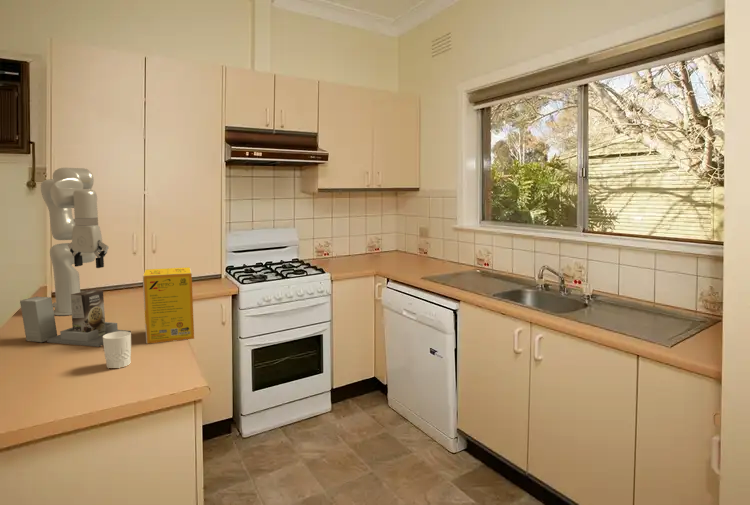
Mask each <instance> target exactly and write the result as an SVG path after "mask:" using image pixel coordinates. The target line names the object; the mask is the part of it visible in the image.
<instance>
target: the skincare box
mask: <svg viewBox="0 0 750 505" xmlns="http://www.w3.org/2000/svg"><path fill="white" fill-rule="evenodd" d="M19 304H20V308H21V314H22V315H21V316H22V322H23V328H24V334H25V341H27V342H34V343H35V342H37V343H43V342H44V343H45V342H47V339H49V338H52V337H55V336H58V331H57V326H56V318H55V315H54V307H53V299H52V296H51V297H48V296H33V297H29V298H25V299H20V300H19Z"/></svg>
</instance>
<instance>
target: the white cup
mask: <svg viewBox="0 0 750 505" xmlns="http://www.w3.org/2000/svg"><path fill="white" fill-rule="evenodd" d="M127 331H128V330H127ZM127 331H119V332H112V333H108V334H105V335H104V336H103V345H102V346H103V352H104V359H105V363H106V368H107V369H109V368H119V369H121V368H120V367H124V366H127V365H129V364H130V363H131V358H132V357H131V355H132V332H131V333H130V332H127ZM130 365H131V364H130ZM130 365H129V366H130ZM127 367H128V366H127ZM124 368H125V367H124Z"/></svg>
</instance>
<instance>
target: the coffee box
mask: <svg viewBox="0 0 750 505" xmlns="http://www.w3.org/2000/svg"><path fill="white" fill-rule="evenodd" d="M71 309H72V315H71V322H72V327H73V332H85V333H88V332H90V331H93V330H98V334H100V333H102V332H105V322H106V317H105V300H104V290H99V289H98V290H97V289H95V290H93V289H90V290H89V289H88V290H86V291H80V293H75V294H71Z"/></svg>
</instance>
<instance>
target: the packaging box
mask: <svg viewBox="0 0 750 505" xmlns="http://www.w3.org/2000/svg"><path fill="white" fill-rule="evenodd" d="M192 275H193V274H192V269H191V267H187V266H186V267H171V268H170V267H169V268H152V269H151V268H150V269H144V273H143V275H142V284H143V285H142V287H143V302H144V303H143V305H144V306H143V307H144V323H145V324H144V325H145V344H155V343H156V344H157V343H166V341H168V342H174V341H173V340H177V341H184V340H183V339H187V340H194V339H195V327H194V326H195V324H194V301H193V299H194V297H193V276H192Z"/></svg>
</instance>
